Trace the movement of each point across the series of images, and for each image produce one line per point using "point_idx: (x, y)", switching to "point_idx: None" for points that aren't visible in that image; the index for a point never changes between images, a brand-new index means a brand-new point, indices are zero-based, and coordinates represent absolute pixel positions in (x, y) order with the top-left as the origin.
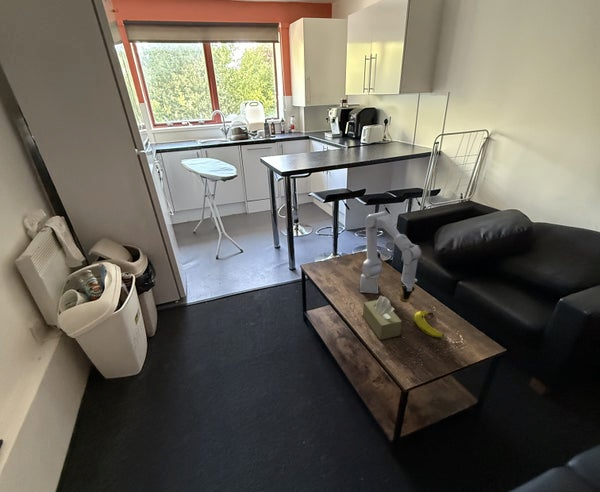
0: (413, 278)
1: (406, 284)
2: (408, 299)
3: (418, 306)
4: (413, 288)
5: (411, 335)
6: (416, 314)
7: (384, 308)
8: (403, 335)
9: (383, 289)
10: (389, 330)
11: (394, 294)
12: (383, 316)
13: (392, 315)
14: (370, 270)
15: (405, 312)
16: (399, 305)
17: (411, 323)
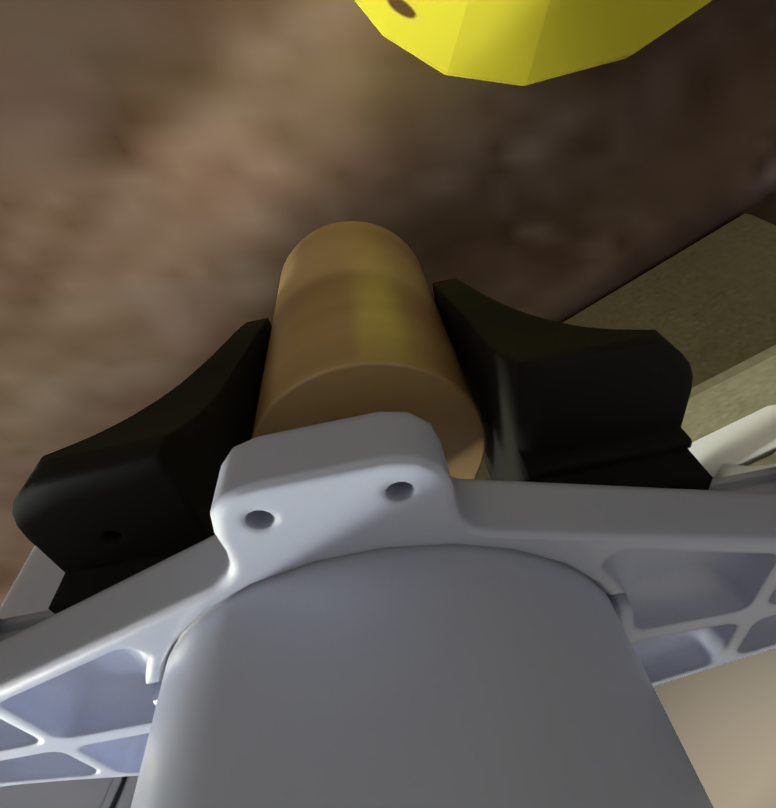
0: (662, 792)
1: (732, 656)
2: (413, 265)
3: (131, 16)
4: (634, 379)
5: (758, 86)
6: (498, 54)
7: None
8: (745, 176)
9: (39, 448)
10: None
11: (53, 349)
12: (729, 448)
13: (765, 392)
14: (113, 792)
15: (350, 195)
16: (241, 274)
17: (547, 102)
